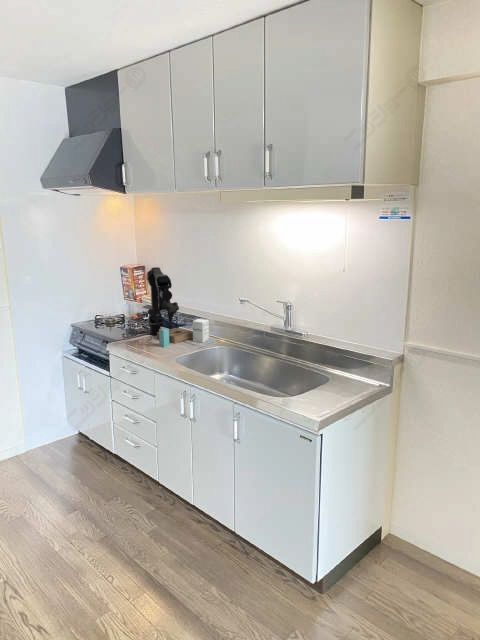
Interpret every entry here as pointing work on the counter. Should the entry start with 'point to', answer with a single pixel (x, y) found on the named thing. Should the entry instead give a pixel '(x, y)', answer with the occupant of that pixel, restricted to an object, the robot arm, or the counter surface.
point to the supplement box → (200, 330)
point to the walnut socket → (178, 335)
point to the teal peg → (164, 337)
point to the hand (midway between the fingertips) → (164, 324)
